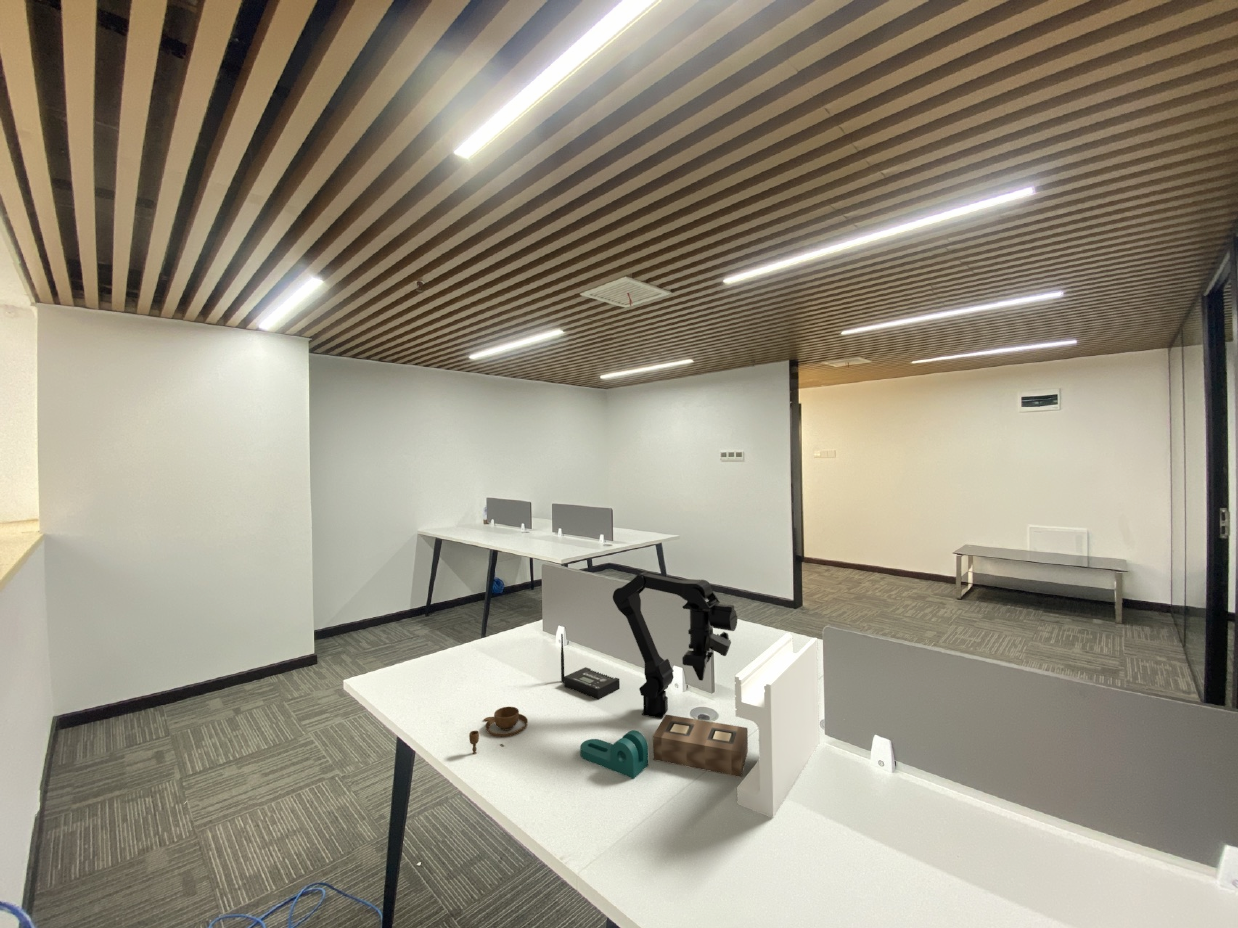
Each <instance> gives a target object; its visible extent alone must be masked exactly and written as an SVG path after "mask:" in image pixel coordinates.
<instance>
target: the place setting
mask: <svg viewBox="0 0 1238 928" xmlns="http://www.w3.org/2000/svg"><path fill="white" fill-rule="evenodd" d="M519 711H520V710H519V708H517V707H515V706H503V707H500V708H498V709H496V710H495V711H494V713H493V716H487V717H485V718H483V721H485V722H486V723H485V731H486V733H487V734H488V735H490V736H492V737H496V738H508V737H513V736H516V735H519V734H521V733H522V732H524V730H525V729H527V726H528V722H529V720H528V718H527V716H525V715H523V714H521V713H520V712H519ZM519 721H521V722H522V723H523V726H521V727H520V728H519V729H517V730H514V731H510V732H502V733H501V732H495V731H493V730H492V731H491V730H490V727H491V725H493V724H494V725H495V726H496V728H499V729H500V730H501V731H509V730H512V729H513V728H514V727H515V726H516V725H517V724H518V722H519ZM468 737H469V744H470V745H472V753H471V755H477V744H478V742H479V740H480V732H479V730H471V731H470V732H469V735H468ZM499 745H500V746H501V747H502V748H503V747H505V745H504V744H503V743H500V744H499Z"/></svg>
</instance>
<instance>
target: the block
mask: <svg viewBox="0 0 1238 928" xmlns="http://www.w3.org/2000/svg"><path fill="white" fill-rule="evenodd" d="M793 645H794V643H793V635H791V632H786V633H785V634H784V635H783V636H781V638H778V640H776V642H774V643H773V644H772V645H770V647H769V648H767V649H766V650H764V652H762V653H761V654H759V655H758V656H757V657H756V658H755V659H754V660H752V661H751V662H750V663H749V664H748V665H746V666H745V667H744V668H743V669H742V670H740V671H739V672H737V674H735V675H734V682H735V683H734V695H735V697H734V700H735V701H734V706H735V709H736V710H735V717H738V718H741V719H744V720H747V721H751V722H753V723H754V724H755V725H756V727H757V728H758V748H759V749H758V752H759V753H758V755H759V756H758V758H759V759H758V761H757V762H756V763H755V765H754V766H753V767H752V769H750V771H749V772H748V773H747V775H746V776H745V777H744V779H743V780H742V781H741V782H740V784H738V786H737V788H736V792H737V795H736V796H737V800H736V801H737V803H736V804H737V805H738V806H739V805H740V806H742V807H744V808H746V809H750V810H752V811H755V812H757V813H759V814H762V815H764V816H767V817H769V818H771V819H774V818H775V816H776V815H777V813H778V812H779V810H780V808H781V807H782V805H783V804H784V802H785V801H786V799H787V797H788V796H789V794H790V792H791V791H792V790H793V787H794V786H795V784H796V782H797V781H798V780H799V778H800V776H801V774H802V773H803V771H804V770H805V768H806V767H807V765H808V764H809V762H810V760H811V758H812V757H813V755H814V754H815V752H816V750H817V749H818V747H819V745H820V743H821V742H820V703H819V701H820V696H819V695H820V693H819V658H818V657H819V652H818V651H819V649H818V648H819V647H818V638H817V637H813V638H811V639H810V640H809V641H808V642H807V643H806V644H804V646H803V647H802V648H800V650H799V651H798V652H797V653H795V652H794V649H793V647H794V646H793Z"/></svg>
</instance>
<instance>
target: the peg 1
mask: <svg viewBox="0 0 1238 928" xmlns="http://www.w3.org/2000/svg"><path fill="white" fill-rule="evenodd" d="M688 731H689V726H684V725H678V724H674V725H673V727H672V729H671V731H670V732H676V733H681V734H687V733H688Z"/></svg>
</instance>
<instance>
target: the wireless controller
mask: <svg viewBox="0 0 1238 928" xmlns="http://www.w3.org/2000/svg"><path fill="white" fill-rule="evenodd" d="M563 635H564V634H563V633H560V637H561V640H560V642H561V643H560V644H561V645H560V646H561V649H560V651H561V652H560V677H561V678H560V681H561V683H564V684H563V685H564V686H563V687H565V688H567V689H569V690H573V691H575V692H577V693H580V694H583V695H584V696H588V697H590V698H593V699H596V700H597V701H599V700H601V699H603V698H604V697H605V698H606V697H607V696H609V695H611V694H613V693H615V692H617V691H618V690H621V688H620V683H621V682H620V678H618V677H614V676H613V677H612V676H610V675H607V674H604V673H601V672H600V671H596V670H593V669H591V668H589V667H587V666H586V667H583V668H580V669H578V670H577V671H574V672H571V673H569V674H566V675H565V652H564V636H563ZM599 672H600V673H599Z"/></svg>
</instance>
